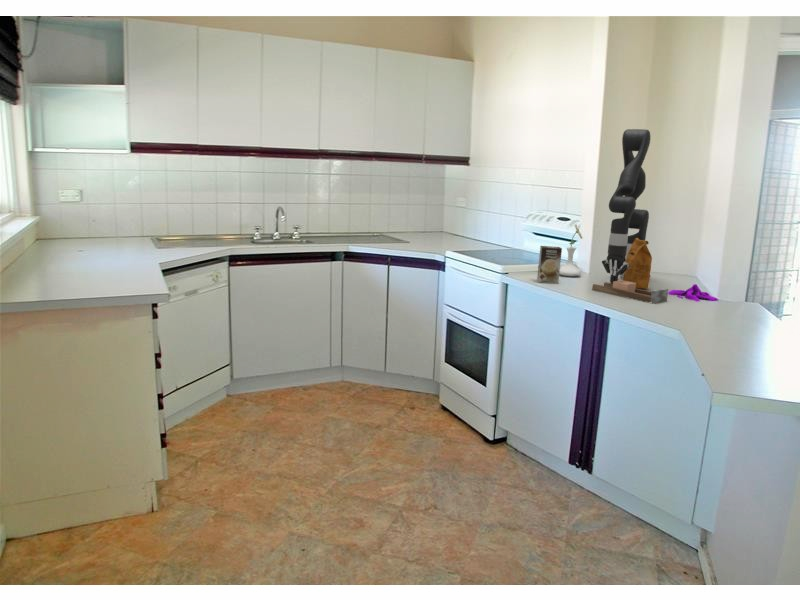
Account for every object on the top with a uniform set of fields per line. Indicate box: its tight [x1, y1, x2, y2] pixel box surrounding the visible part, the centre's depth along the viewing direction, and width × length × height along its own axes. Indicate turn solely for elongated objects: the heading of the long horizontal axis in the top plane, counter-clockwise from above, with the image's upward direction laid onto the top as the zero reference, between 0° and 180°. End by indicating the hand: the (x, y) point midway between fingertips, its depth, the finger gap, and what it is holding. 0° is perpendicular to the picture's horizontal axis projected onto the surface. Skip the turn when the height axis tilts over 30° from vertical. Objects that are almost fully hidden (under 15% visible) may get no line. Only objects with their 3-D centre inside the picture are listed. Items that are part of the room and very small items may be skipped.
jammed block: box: [613, 279, 636, 292], centre depth 274 cm, size 6×7×5 cm
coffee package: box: [622, 238, 653, 290], centre depth 288 cm, size 10×12×22 cm
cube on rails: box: [591, 281, 669, 304], centre depth 272 cm, size 10×30×5 cm, turn 37°
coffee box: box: [536, 245, 563, 284], centre depth 295 cm, size 9×6×16 cm
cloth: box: [668, 283, 719, 302], centre depth 273 cm, size 22×19×6 cm
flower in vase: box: [559, 223, 583, 277], centre depth 312 cm, size 13×11×25 cm
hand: (613, 283), depth 278 cm, fingers closed
